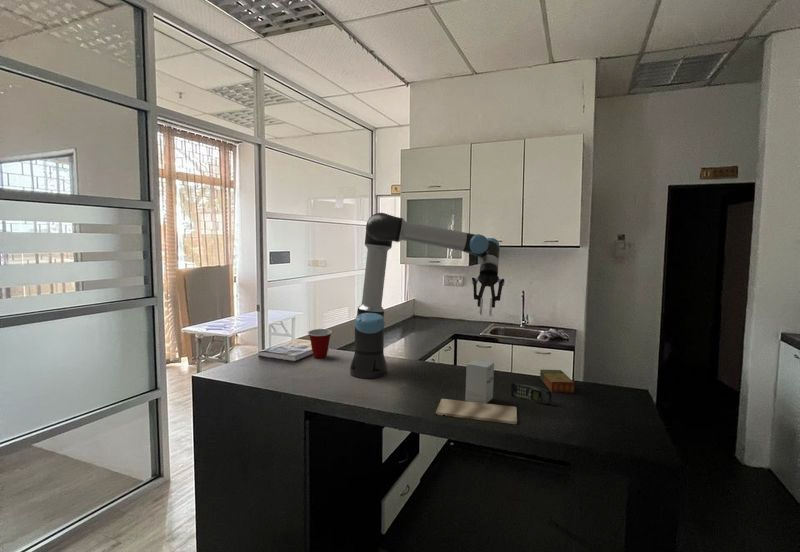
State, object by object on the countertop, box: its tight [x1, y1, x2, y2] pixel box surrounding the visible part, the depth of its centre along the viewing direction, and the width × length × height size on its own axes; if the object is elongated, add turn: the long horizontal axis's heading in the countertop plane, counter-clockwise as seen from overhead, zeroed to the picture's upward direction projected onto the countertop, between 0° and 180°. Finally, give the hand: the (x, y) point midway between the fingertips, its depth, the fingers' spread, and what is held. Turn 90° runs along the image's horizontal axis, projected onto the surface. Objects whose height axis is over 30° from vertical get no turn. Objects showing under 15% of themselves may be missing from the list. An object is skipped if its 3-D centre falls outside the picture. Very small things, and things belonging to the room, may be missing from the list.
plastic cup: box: [307, 328, 333, 359], centre depth 192 cm, size 11×11×12 cm
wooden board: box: [435, 398, 518, 425], centre depth 131 cm, size 24×12×1 cm, turn 75°
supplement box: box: [464, 359, 495, 404], centre depth 142 cm, size 7×7×13 cm
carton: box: [539, 369, 575, 394], centre depth 159 cm, size 8×16×4 cm, turn 176°
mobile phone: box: [510, 382, 557, 406], centre depth 143 cm, size 5×3×15 cm
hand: (485, 313), depth 163 cm, fingers open, 3 cm apart
